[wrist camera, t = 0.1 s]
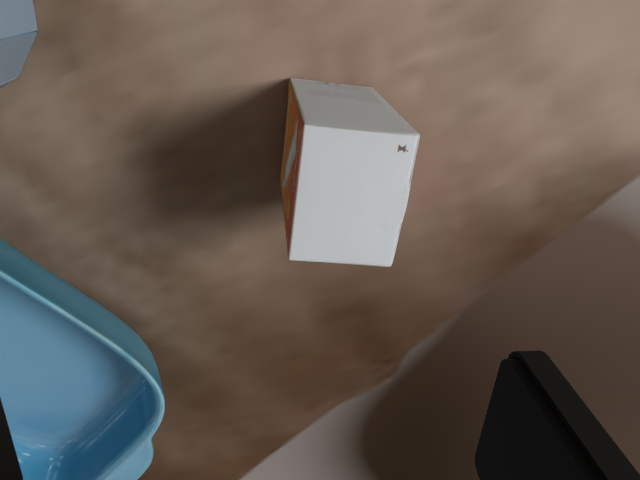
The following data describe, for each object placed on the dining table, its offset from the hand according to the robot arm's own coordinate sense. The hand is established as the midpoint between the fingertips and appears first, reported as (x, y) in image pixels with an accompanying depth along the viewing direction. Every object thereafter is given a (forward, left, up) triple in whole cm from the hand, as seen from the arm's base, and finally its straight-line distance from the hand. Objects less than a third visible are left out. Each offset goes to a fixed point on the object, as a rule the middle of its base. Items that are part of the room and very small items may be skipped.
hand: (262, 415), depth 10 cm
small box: (+3, +5, -31) cm, 32 cm away
